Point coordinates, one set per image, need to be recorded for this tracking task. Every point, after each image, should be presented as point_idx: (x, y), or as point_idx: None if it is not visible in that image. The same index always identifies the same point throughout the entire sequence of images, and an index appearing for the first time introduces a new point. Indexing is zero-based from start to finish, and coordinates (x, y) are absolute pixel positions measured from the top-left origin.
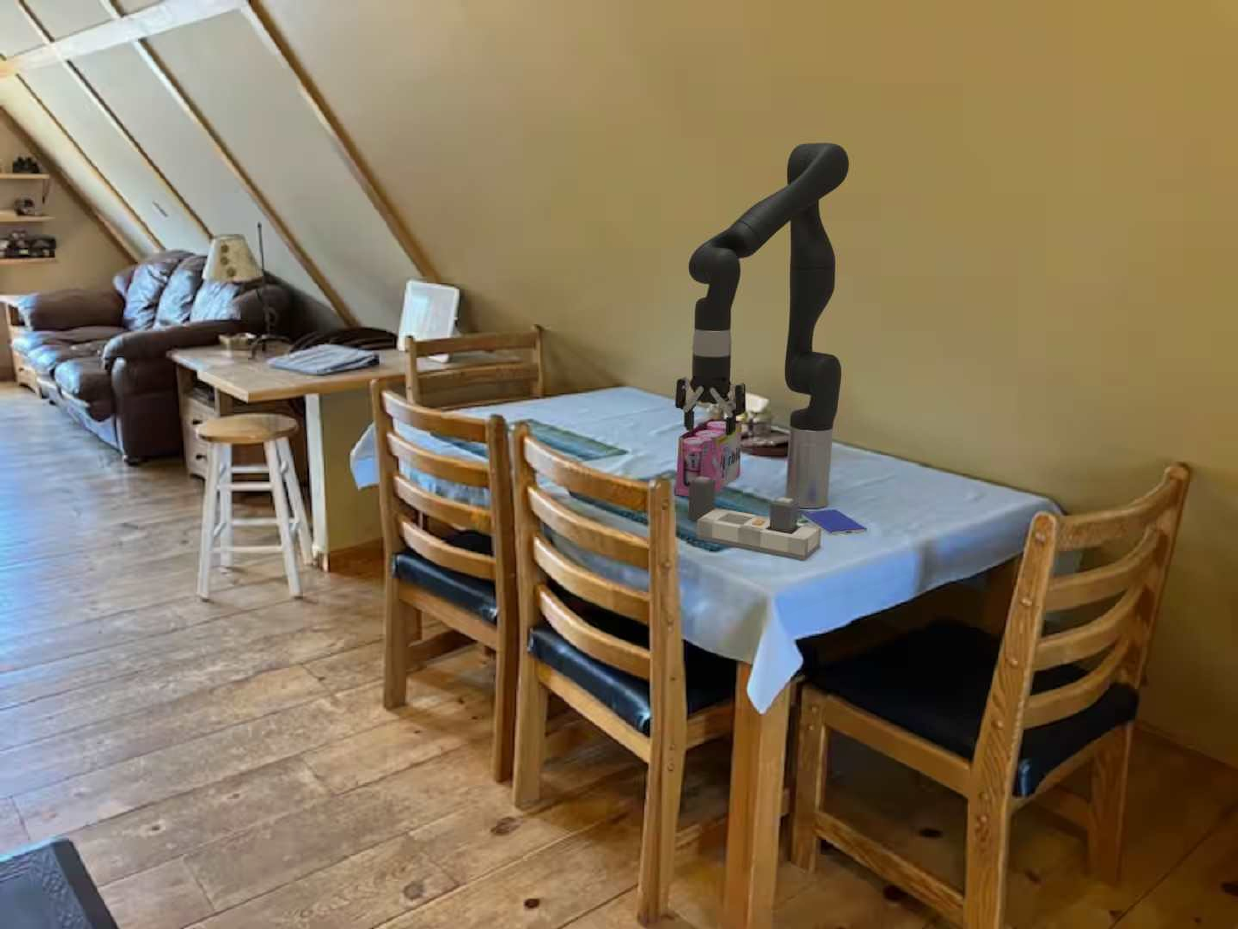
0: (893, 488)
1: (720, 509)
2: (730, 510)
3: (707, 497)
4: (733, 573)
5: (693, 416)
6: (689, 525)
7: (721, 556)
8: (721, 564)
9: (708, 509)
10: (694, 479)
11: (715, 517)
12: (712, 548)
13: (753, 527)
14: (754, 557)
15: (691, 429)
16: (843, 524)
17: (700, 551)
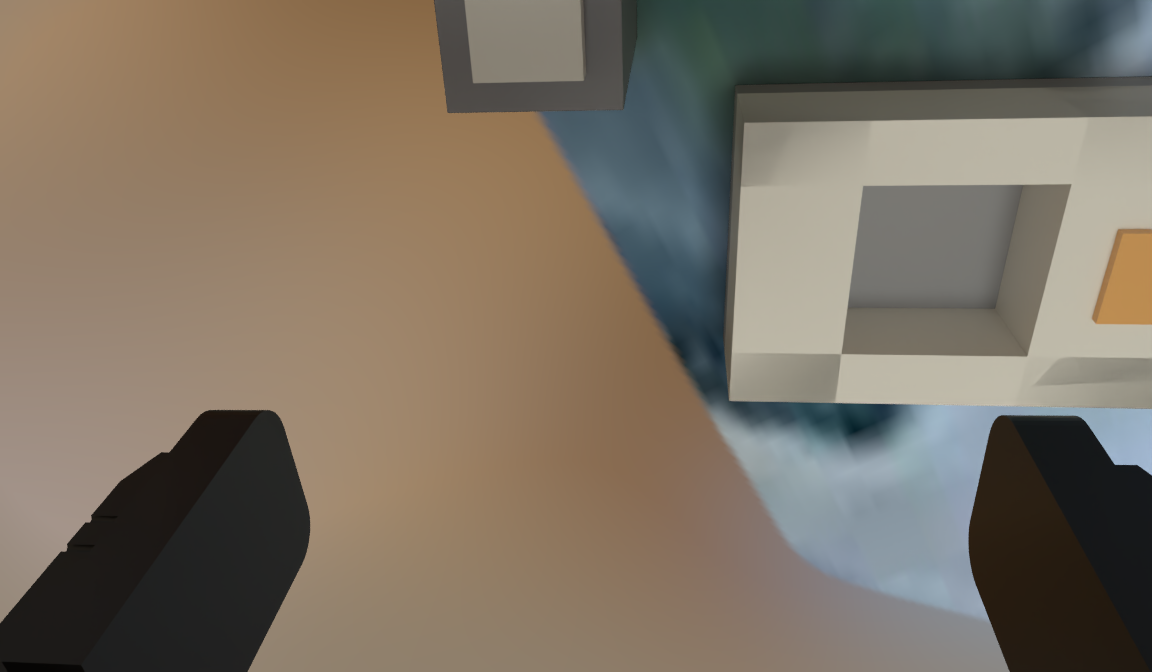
0: None
1: (784, 144)
2: (862, 124)
3: (628, 62)
4: None
5: (164, 597)
6: (578, 153)
7: (929, 474)
8: (958, 549)
9: (633, 12)
10: (436, 8)
11: (815, 312)
12: (851, 408)
13: (1111, 364)
14: (1097, 418)
15: (293, 481)
16: None
17: (810, 464)
